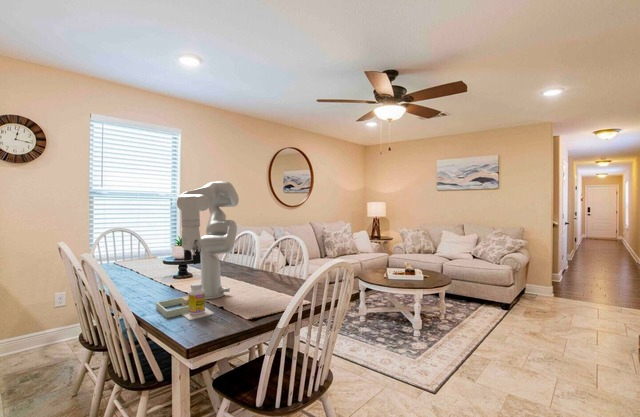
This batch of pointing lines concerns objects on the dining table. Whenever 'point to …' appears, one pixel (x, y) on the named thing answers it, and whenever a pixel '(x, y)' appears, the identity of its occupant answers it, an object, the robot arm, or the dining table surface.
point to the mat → (192, 317)
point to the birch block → (185, 301)
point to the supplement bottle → (196, 299)
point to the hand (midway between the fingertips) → (192, 262)
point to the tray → (171, 302)
